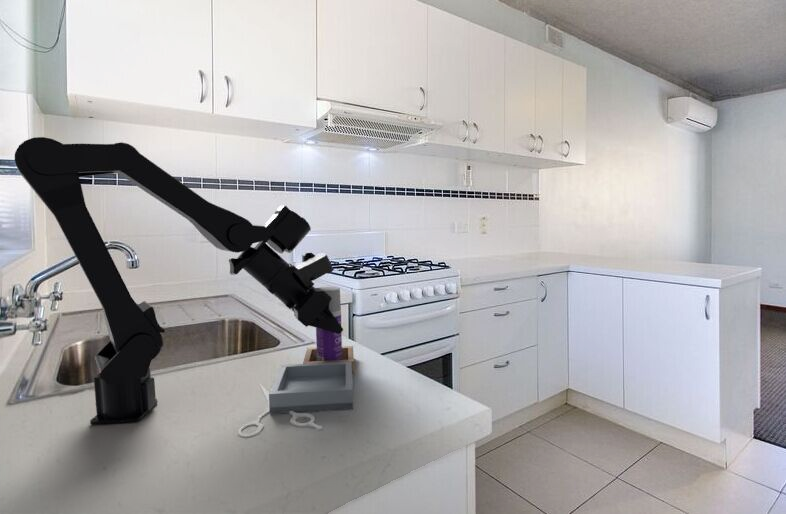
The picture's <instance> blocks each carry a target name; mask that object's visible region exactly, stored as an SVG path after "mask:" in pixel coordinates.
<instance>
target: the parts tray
mask: <svg viewBox="0 0 786 514" xmlns="http://www.w3.org/2000/svg"><path fill="white" fill-rule="evenodd" d="M278 369H279V370H278V371H277V373H276V376H275V379H274V381H273V384H272V386H271V388H270V391H269V409H270V413H269V414H270V415H276V414H279V415H280V414H290V413H289V411H294V412H296V413H309V412H311V413H312V412H326V411H341V410H342V411H343V410H353V409H354V396H353V395H354V393H353V392H354V391H353V390H354V389H353V375H352V366H351V362H332V363H311V364H303V363H294V364H293V363H292V364H280V367H279V368H278Z"/></svg>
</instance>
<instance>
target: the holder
mask: <svg viewBox="0 0 786 514" xmlns="http://www.w3.org/2000/svg"><path fill="white" fill-rule="evenodd" d="M332 362H351V366H352V376H355V355H354V345H342V360H331V361H317V347H307V348H306V350H305V355H304V358H303V361H302V364H311V363H332Z"/></svg>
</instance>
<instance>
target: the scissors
mask: <svg viewBox="0 0 786 514" xmlns="http://www.w3.org/2000/svg"><path fill="white" fill-rule="evenodd" d="M258 384H259V386H260V388H261V391H262V393H263V396H264V397H265V399H266V401H267V407H266V409H265V410H264V412H263V413H261V414H258V415H257V418H256V419H255V420H253V421H250V422H248V423H245V424H244V425H242V426H241V427H239V428H238V429H237V430H238V431H237V435H238V436H240V437H241V438H252V437H254V436H256V435H258V434H260V433H261V432H262V431H263V429H264V427H265V426H264V424H262V423H260V421H261V419H263V418H264V417H266V415H268V414H270V409H269V393H270V391H268V389H267V388H265V387H264V385H262V384H261V383H260V382H259V383H258ZM288 414H290V415H291V416H292V417H291V418H290V420H289V423H290V425H293V426H295V427H301V428H304V427H311V428H314V429H315V430H316V431H321V430H322V429H323V426H322V425H319V424H316V423H315V416H314V415H313V414H311V413H308V412H294V411H289V413H288ZM298 418H308V419H309V421H307V422H303V423H302V422H298V421H296V420H297V419H298ZM252 426H256V427H257V428H256V430H255V431H254V432H251V433H247V434H246V433H243V432H242V431H243V430H244V429H246V428H247V427H252Z"/></svg>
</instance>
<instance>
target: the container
mask: <svg viewBox="0 0 786 514" xmlns="http://www.w3.org/2000/svg"><path fill="white" fill-rule="evenodd" d="M319 288H320V289H322V290H323V291H325V292H326V293H327V294H328V295H329V296H330V297H331V298H332V299H331V301H330V303H329V310H330V311H331V313H332V314H333V315H334V317H335V318H336V320H337V321H338V322H339V324H340V325H341V326H342V307H341V306H342V305H341V303H342V302H341V288H340V287H339V286H322V287H321V286H320V287H319ZM342 332H343V331H342ZM342 332H341V333H340V334H337V333H334V332H330V331H327V330H323V329H320V328H316V327H315V337H316V339H315V340H316V348H317V361H331V360H342V346H343V339H342V337H343V336H342V334H343V333H342Z"/></svg>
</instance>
